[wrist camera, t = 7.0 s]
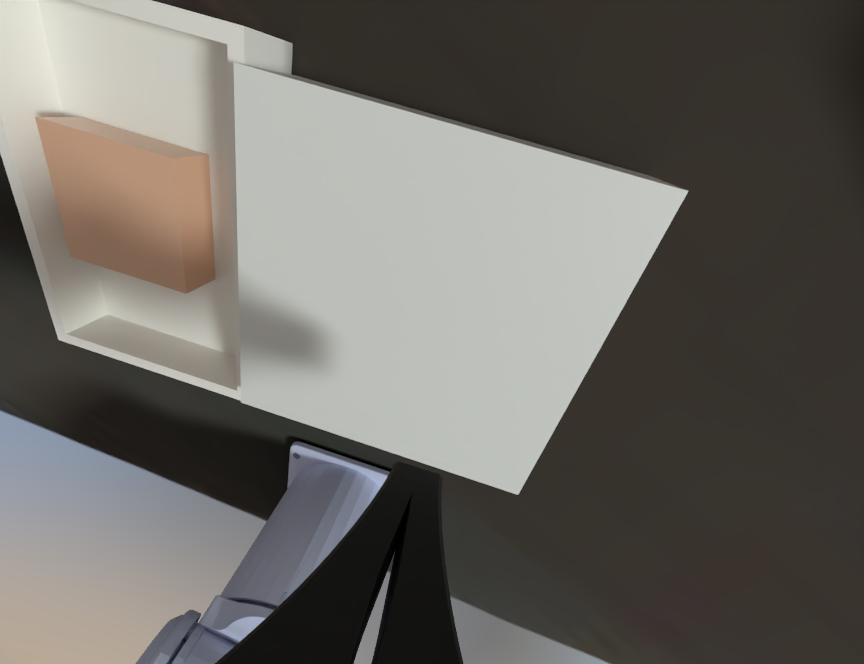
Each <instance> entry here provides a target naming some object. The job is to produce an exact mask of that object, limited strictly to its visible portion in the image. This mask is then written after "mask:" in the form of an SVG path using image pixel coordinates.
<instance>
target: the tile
mask: <svg viewBox="0 0 864 664" xmlns="http://www.w3.org/2000/svg"><path fill="white" fill-rule="evenodd" d="M35 119H36V123H37V127H38V131H39V135H40V139H41V142H42V146H43V150H44V154H45V158H46V162H47V166H48V170H49V174H50V177H51V181H52V185H53V189H54V193H55V197H56V201H57V205H58V208H59V212H60V216H61V220H62V224H63V228H64V232H65V236H66V240H67V243H68V247H69V251H70V255H71V257H73V258H76V259H79V260H83V261H86V262H89V263H92V264H95V265H98V266H101V267H104V268H107V269H111V270H114V271H117V272H120V273H123V274H126V275H129V276H132V277H136V278H139V279H142V280H145V281H148V282H151V283H154V284H157V285H161V286H164V287H167V288H170V289H173V290H176V291H179V292H182V293H185V294H187V293H189V292H191V291H193V290H195V289H197V288H199V287H201V286H203V285H205V284H207V283H209V282H211V281H213V280H215V279H216V278H215V259H214V241H213V223H212V205H211V187H210V168H209V155H208V154H205V153H201V152H198V151H194V150H191V149H188V148H184V147H181V146H178V145H174V144H171V143H168V142H164V141H161V140H158V139H154V138H151V137H148V136H144V135H141V134H138V133H134V132H131V131H128V130H124V129H121V128H118V127H114V126H111V125H108V124H104V123H101V122H98V121H94V120H91V119H88V118H84V117H35Z"/></svg>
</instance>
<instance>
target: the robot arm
mask: <svg viewBox="0 0 864 664" xmlns="http://www.w3.org/2000/svg"><path fill="white" fill-rule="evenodd" d="M442 480H443V478H442V477H441V475H440V474H437V473H433V472H430V471H427V470H424V469H421V468H418V467H414V466H411V465H408V464H405V463H402V462H396V463H394V465H393V467H392V469H391V471H390V472H389V471H386V470H383V469H380V468H377V467H374V466H371V465H368V464H365V463H362V462H359V461H356V460H353V459H350V458H347V457H344V456H341V455H338V454H335V453H332V452H329V451H326V450H323V449H320V448H317V447H314V446H311V445H308V444H305V443H302V442H299V441H296V442H294V443H293V444H292V445H291V447H290V458H289V473H288V487H287V491H286V492H285V494H284V495H283V497H282V499H281V500H280V502H279V503H278V505H277V506H276V508H275V510H274V511H273V513H272V514H271V516H270V518H269V519H268V521H267V522H266V524H265V525H264V527H263V529H262V530H261V532H260V533H259V535H258V537H257V538H256V540H255V542H254V543H253V544H252V546H251V548H250V550H249V551H248V553H247V554H246V556H245V557H244V559H243V560H242V562H241V563H240V565H239V567H238V568H237V570H236V571H235V573H234V574H233V576H232V578H231V580H230V581H229V583H228V584H227V586H226V587H225V589H224V591H223V592H222V594H221V595H220V596H219V595H217V596H216V597H215V599H214V600H213V601H212V603H211V605H210V606H209V608H208V609H207V611H206V612H205V614H204V616H203V617H202V618H201V620H200V622H199V623H197V622H198V620H199V618H200V616H201V613H198V612H196V611H194V610H189V611H187V612H186V613H185V614H184V615H180V616H178V617H176V618H174V619H171V620H170V621H169V622H168V623H167V624H166V625H165V626H164V627H163V629H162V630H161V631H160V632H159V634H158V635H157V636H156V637H155V638H154V640H153V641H152V642H151V644H150V645H149V646H148V648H147V649H146V650H145V652H144V653H143V654H142V656H141V657H140V658H139V660H138V661H137V663H136V664H354V660H355V657H356V653H357V651H358V648H359V644H360V642H361V639H362V636H363V633H364V631H365V628H366V625H367V623H368V620H369V617H370V615H371V612H372V610H373V607H374V604H375V601H376V599H377V597H378V594H379V591H380V589H381V586H382V583H383V580H384V578H385V576H386V573H387V570H388V568H389V565H390V562H391V560H392V557H393V555H394V552H395V555H394V560H393V564H392V569H391V574H390V580H389V584H388V589H387V594H386V599H385V605H384V609H383V614H382V619H381V624H380V629H379V634H378V639H377V643H376V647H375V651H374V656H373V660H372V663H371V664H463V660H462V656H461V651H460V647H459V642H458V637H457V632H456V628H455V622H454V617H453V612H452V606H451V600H450V593H449V587H448V580H447V573H446V565H445V556H444V546H443V535H442V517H441V491H442ZM395 549H396V550H395Z"/></svg>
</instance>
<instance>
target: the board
mask: <svg viewBox="0 0 864 664" xmlns="http://www.w3.org/2000/svg"><path fill="white" fill-rule="evenodd" d="M233 64H234V108H235V152H236V196H237V241H238V285H239V329H240V373H241V403H244V404H247V405H250V406H253V407H256V408H259V409H262V410H265V411H268V412H271V413H274V414H277V415H280V416H283V417H286V418H289V419H292V420H295V421H298V422H301V423H304V424H307V425H310V426H313V427H316V428H319V429H322V430H325V431H328V432H331V433H334V434H337V435H340V436H343V437H346V438H349V439H352V440H355V441H358V442H361V443H364V444H367V445H370V446H373V447H376V448H379V449H382V450H385V451H388V452H391V453H394V454H397V455H400V456H403V457H406V458H409V459H412V460H415V461H418V462H421V463H424V464H427V465H430V466H433V467H436V468H439V469H442V470H445V471H448V472H451V473H454V474H457V475H460V476H463V477H466V478H469V479H472V480H475V481H478V482H481V483H484V484H487V485H490V486H493V487H496V488H499V489H502V490H505V491H508V492H511V493H514V494H517V495H518V494H519V492H520V490H521V489H522V487H523V485H524V483H525V482H526V480H527V478H528V476H529V474H530V473H531V471H532V469H533V467H534V465H535V464H536V462H537V460H538V458H539V457H540V455H541V453H542V451H543V449H544V448H545V446H546V444H547V442H548V440H549V439H550V437H551V435H552V433H553V432H554V430H555V428H556V426H557V424H558V423H559V421H560V419H561V417H562V416H563V414H564V412H565V410H566V408H567V407H568V405H569V403H570V401H571V399H572V398H573V396H574V394H575V392H576V391H577V389H578V387H579V385H580V383H581V382H582V380H583V378H584V376H585V375H586V373H587V371H588V369H589V367H590V366H591V364H592V362H593V360H594V358H595V357H596V355H597V353H598V351H599V350H600V348H601V346H602V344H603V342H604V341H605V339H606V337H607V335H608V334H609V332H610V330H611V328H612V326H613V325H614V323H615V321H616V319H617V317H618V316H619V314H620V312H621V310H622V309H623V307H624V305H625V303H626V301H627V300H628V298H629V296H630V294H631V293H632V291H633V289H634V287H635V285H636V284H637V282H638V280H639V278H640V276H641V275H642V273H643V271H644V269H645V268H646V266H647V264H648V262H649V260H650V259H651V257H652V255H653V253H654V252H655V250H656V248H657V246H658V244H659V243H660V241H661V239H662V237H663V235H664V234H665V232H666V230H667V228H668V227H669V225H670V223H671V221H672V219H673V218H674V216H675V214H676V212H677V210H678V209H679V207H680V205H681V203H682V202H683V200H684V198H685V196H686V194H687V193H688V191H687V190H684V189H682V188H679V187H677V186H674V185H672V184H669V183H667V182H664V181H661V180H659V179H656V178H654V177H651V176H649V175H646V174H642V173H639V172H635V171H632V170H628V169H625V168H621V167H617V166H614V165H610V164H607V163H603V162H600V161H596V160H593V159H589V158H586V157H582V156H579V155H575V154H572V153H568V152H565V151H561V150H557V149H554V148H550V147H547V146H543V145H540V144H536V143H533V142H529V141H526V140H522V139H519V138H515V137H512V136H508V135H504V134H501V133H497V132H494V131H490V130H487V129H483V128H480V127H476V126H473V125H469V124H466V123H462V122H459V121H455V120H451V119H448V118H444V117H441V116H437V115H434V114H430V113H427V112H423V111H420V110H416V109H413V108H409V107H406V106H402V105H398V104H395V103H391V102H388V101H384V100H381V99H377V98H374V97H370V96H367V95H363V94H360V93H356V92H353V91H349V90H345V89H342V88H338V87H335V86H331V85H328V84H324V83H321V82H317V81H314V80H310V79H307V78H303V77H300V76H295V75H291V74H286V73H281V72H277V71H272V70H268V69H263V68H259V67H254V66H249V65H245V64H240V63H236V62H233Z"/></svg>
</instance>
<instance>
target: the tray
mask: <svg viewBox="0 0 864 664" xmlns="http://www.w3.org/2000/svg"><path fill="white" fill-rule="evenodd" d="M292 48H293V43H290V42H287V41H284V40H282V39H279V38H276V37H273V36H270V35H268V34H265V33H262V32H259V31H256V30H254V29H251V28H248V27H245V26H242V25H238V24H235V23H231V22H227V21H224V20H220V19H217V18H213V17H209V16H206V15H202V14H199V13H195V12H191V11H188V10H184V9H181V8H177V7H173V6H170V5H166V4H163V3H159V2H155V1H152V0H0V154H1V157H2V160H3V163H4V166H5V170H6V173H7V176H8V179H9V183H10V186H11V189H12V192H13V195H14V199H15V202H16V205H17V208H18V211H19V215H20V218H21V221H22V224H23V227H24V231H25V234H26V237H27V240H28V243H29V247H30V250H31V253H32V256H33V259H34V263H35V266H36V269H37V272H38V275H39V279H40V282H41V285H42V288H43V291H44V295H45V298H46V301H47V304H48V308H49V311H50V314H51V317H52V320H53V324H54V327H55V330H56V333H57V336H58V340H61V341H64V342H67V343H70V344H73V345H76V346H79V347H82V348H85V349H88V350H91V351H94V352H97V353H100V354H103V355H106V356H109V357H112V358H115V359H118V360H121V361H124V362H127V363H130V364H133V365H136V366H139V367H142V368H145V369H148V370H151V371H154V372H157V373H160V374H163V375H166V376H169V377H172V378H175V379H178V380H181V381H184V382H187V383H190V384H193V385H196V386H199V387H202V388H205V389H208V390H211V391H214V392H217V393H220V394H223V395H226V396H229V397H232V398H235V399H238V400H241V373H240V329H239V285H238V241H237V196H236V152H235V108H234V64H233V62H236V63H240V64H245V65H249V66H254V67H259V68H263V69H268V70H272V71H277V72H281V73H286V74H291V72H292ZM35 117H84V118H88V119H91V120H94V121H98V122H101V123H104V124H108V125H111V126H114V127H118V128H121V129H124V130H128V131H131V132H134V133H138V134H141V135H144V136H148V137H151V138H154V139H158V140H161V141H164V142H168V143H171V144H174V145H178V146H181V147H184V148H188V149H191V150H194V151H198V152H201V153H205V154H208V155H209V168H210V187H211V205H212V223H213V241H214V259H215V278H216V279H215V280H213V281H211V282H209V283H207V284H205V285H203V286H201V287H199V288H197V289H195V290H193V291H191V292H189V293H187V294H185V293H182V292H179V291H176V290H173V289H170V288H167V287H164V286H161V285H157V284H154V283H151V282H148V281H145V280H142V279H139V278H136V277H132V276H129V275H126V274H123V273H120V272H117V271H114V270H111V269H107V268H104V267H101V266H98V265H95V264H92V263H89V262H86V261H83V260H79V259H76V258H73V257H71V255H70V251H69V247H68V243H67V240H66V236H65V232H64V228H63V224H62V220H61V216H60V212H59V208H58V205H57V201H56V197H55V193H54V189H53V185H52V181H51V177H50V174H49V170H48V166H47V162H46V158H45V154H44V150H43V146H42V142H41V139H40V135H39V131H38V127H37V123H36V119H35Z"/></svg>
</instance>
